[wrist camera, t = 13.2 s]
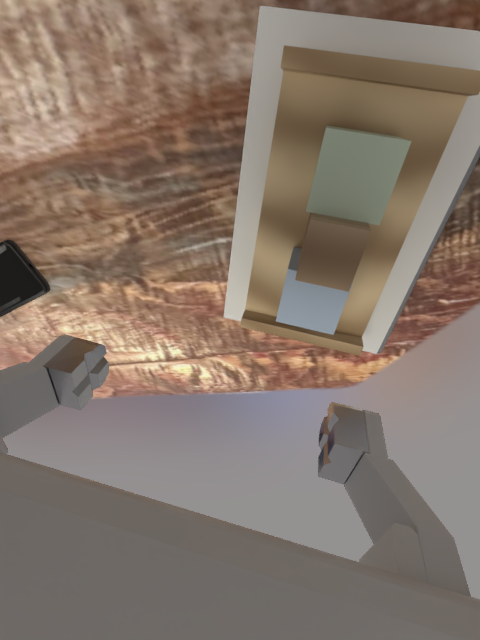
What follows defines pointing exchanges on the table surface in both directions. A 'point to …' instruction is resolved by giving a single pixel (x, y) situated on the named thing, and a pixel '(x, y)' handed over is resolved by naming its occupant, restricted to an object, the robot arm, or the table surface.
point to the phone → (18, 278)
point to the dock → (272, 34)
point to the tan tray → (299, 169)
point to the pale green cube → (356, 174)
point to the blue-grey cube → (309, 302)
